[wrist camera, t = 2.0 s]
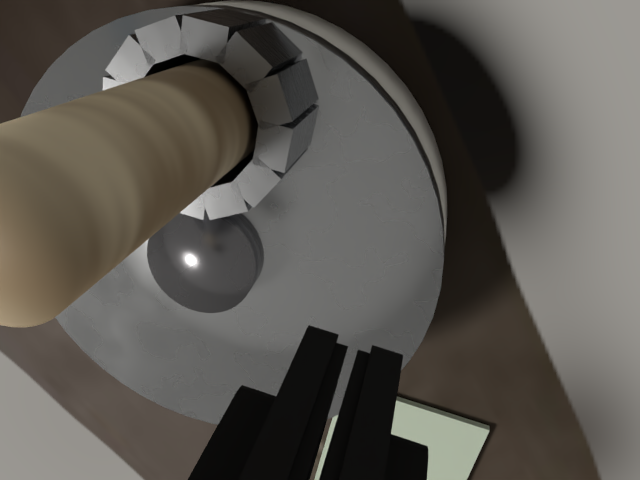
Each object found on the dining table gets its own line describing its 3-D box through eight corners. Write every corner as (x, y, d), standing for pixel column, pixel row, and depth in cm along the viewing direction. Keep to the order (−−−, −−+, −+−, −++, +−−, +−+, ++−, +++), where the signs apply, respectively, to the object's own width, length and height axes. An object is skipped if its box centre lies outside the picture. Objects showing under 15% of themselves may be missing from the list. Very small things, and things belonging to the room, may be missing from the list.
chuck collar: (378, 458, 32) (362, 545, 27) (32, 342, 34) (-40, 404, 29) (514, 76, 23) (528, 104, 18) (25, -49, 25) (-81, -54, 20)
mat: (344, 379, 36) (342, 383, 35) (489, 425, 35) (489, 430, 34) (314, 480, 40) (312, 485, 39) (443, 525, 39) (443, 529, 39)
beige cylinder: (193, 40, 23) (-115, 117, 11) (288, 65, 23) (80, 175, 11) (183, 135, 25) (-92, 294, 13) (271, 160, 25) (76, 351, 12)
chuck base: (84, -46, 29) (30, -48, 25) (507, 61, 27) (514, 74, 23) (75, 306, 38) (35, 340, 35) (387, 406, 36) (378, 454, 32)
